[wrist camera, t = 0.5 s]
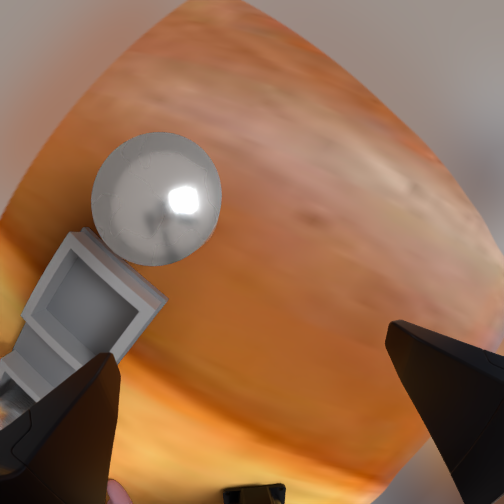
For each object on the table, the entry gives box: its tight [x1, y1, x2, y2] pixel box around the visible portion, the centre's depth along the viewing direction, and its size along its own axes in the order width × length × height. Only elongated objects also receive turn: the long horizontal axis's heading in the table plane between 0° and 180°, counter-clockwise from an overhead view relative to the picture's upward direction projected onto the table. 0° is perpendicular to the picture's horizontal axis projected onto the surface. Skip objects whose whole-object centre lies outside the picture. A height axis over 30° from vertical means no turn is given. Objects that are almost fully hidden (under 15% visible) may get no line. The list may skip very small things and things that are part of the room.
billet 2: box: [91, 132, 222, 266], centre depth 16 cm, size 5×5×12 cm
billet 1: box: [0, 384, 37, 430], centre depth 14 cm, size 5×5×12 cm
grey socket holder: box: [0, 227, 169, 402], centre depth 20 cm, size 22×9×4 cm, turn 140°
